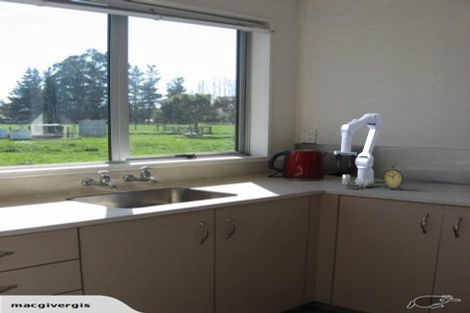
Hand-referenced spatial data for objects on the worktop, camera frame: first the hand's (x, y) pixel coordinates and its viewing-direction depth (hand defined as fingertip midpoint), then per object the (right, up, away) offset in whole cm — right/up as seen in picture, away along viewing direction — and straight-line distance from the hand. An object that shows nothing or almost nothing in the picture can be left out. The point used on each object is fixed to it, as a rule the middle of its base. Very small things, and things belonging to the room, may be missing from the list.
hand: (344, 166), depth 247 cm
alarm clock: (+24, -13, -12) cm, 30 cm away
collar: (+1, -11, +2) cm, 11 cm away
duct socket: (+7, -12, -8) cm, 16 cm away
